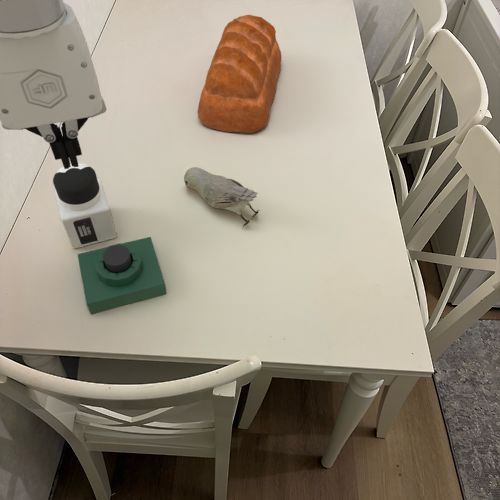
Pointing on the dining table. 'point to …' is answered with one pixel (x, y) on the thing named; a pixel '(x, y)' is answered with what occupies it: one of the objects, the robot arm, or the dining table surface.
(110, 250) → the dark grey push button
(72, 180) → the container
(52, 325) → the dining table surface
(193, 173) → the decorative bird
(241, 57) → the bread
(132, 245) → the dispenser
